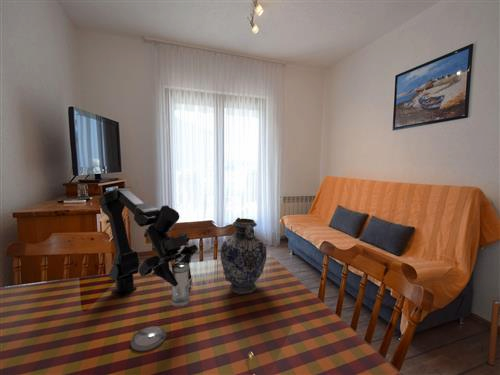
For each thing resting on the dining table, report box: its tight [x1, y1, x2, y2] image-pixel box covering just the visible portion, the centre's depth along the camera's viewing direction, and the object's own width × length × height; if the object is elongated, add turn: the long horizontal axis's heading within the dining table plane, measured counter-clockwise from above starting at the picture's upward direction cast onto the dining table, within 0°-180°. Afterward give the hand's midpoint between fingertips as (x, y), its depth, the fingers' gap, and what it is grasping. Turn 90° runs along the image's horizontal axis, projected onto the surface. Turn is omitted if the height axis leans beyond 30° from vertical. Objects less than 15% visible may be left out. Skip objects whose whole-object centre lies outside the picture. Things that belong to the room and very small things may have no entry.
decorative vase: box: [220, 217, 267, 295], centre depth 93 cm, size 21×19×28 cm
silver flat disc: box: [130, 326, 167, 353], centre depth 65 cm, size 9×9×1 cm
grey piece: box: [171, 262, 190, 308], centre depth 71 cm, size 5×5×12 cm
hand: (183, 282), depth 70 cm, fingers closed on grey piece, 5 cm apart
